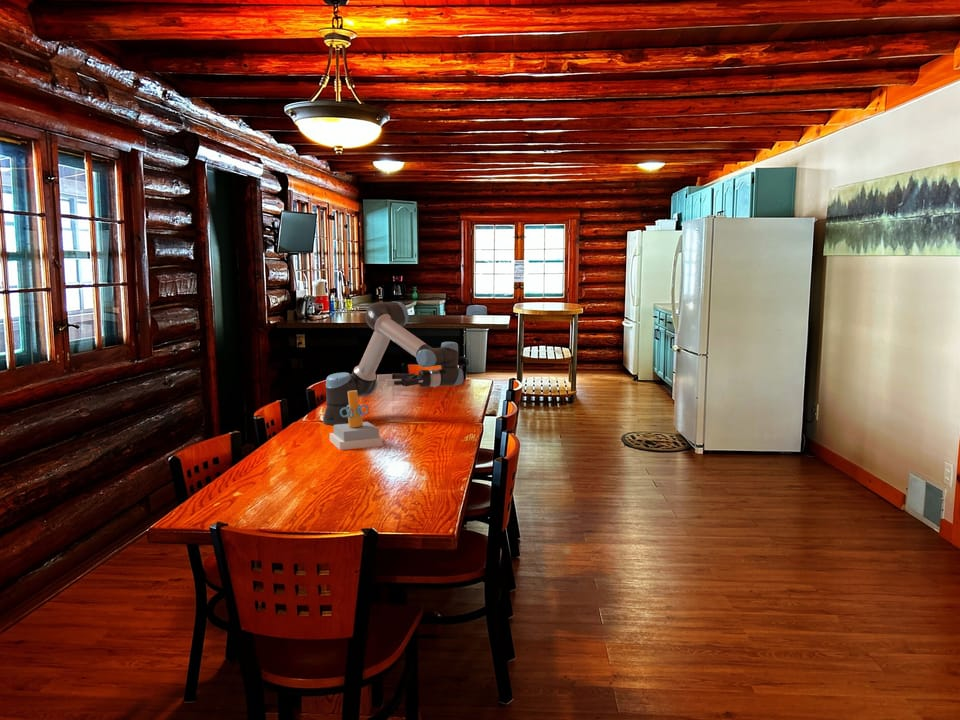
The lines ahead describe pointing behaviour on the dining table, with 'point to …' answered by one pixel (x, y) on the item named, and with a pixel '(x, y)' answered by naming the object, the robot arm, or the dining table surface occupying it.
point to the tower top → (356, 432)
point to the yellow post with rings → (354, 410)
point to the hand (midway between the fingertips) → (381, 380)
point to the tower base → (355, 442)
